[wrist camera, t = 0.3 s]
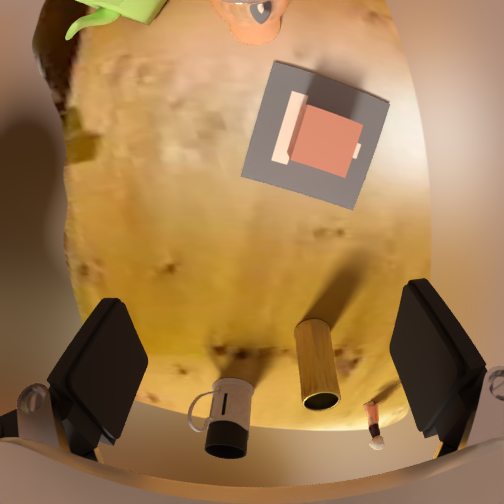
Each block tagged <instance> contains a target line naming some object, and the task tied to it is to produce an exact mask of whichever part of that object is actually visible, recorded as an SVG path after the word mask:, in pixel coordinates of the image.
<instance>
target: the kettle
mask: <svg viewBox="0 0 504 504" xmlns="http://www.w3.org/2000/svg"><path fill="white" fill-rule="evenodd" d="M77 1H79V2H82V3H84V4H87V5H89V6H91V7H94V8H96V9H98V10H97V11H96V12H95V13H93V14H92V15H88V16H84V17H81V18H79V19H78V20H77V21H75V22H74V23H73V24H72V26H71V27H70V28H69V30H68V32H67V34H66V40H69V39H70V38H71V37H72V36H73V35H74V34H75V33H76V32H77V31H79V30H80V29H82V28H84V27H87V26H95V25H104V24H108V23H111V22H113V21H114V20H116V19H117V18H119V17H120V16H122V17H125V18H128V19H131V20H134V21H137V22H140V23H143V24H146V25H150V24H151V22H152V21H153V19H154V18H155V16H156V15H157V14H158V13H159V12H160V11H161V8H162V7H163V5H164V4H165V3H166V1H167V0H77Z"/></svg>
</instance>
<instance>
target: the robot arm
mask: <svg viewBox="0 0 504 504" xmlns="http://www.w3.org/2000/svg"><path fill="white" fill-rule="evenodd" d="M390 354H391V357H392V360H393V362H394V365H395V367H396V370H397V372H398V375H399V378H400V380H401V383H402V386H403V388H404V391H405V394H406V396H407V399H408V402H409V405H410V408H411V411H412V414H413V416H414V419H415V423H416V426H417V428H418V430H419V431H420V432H421V431H423V434H424V437H425V438H428V437H431V436H434V435H437V434H438V436H439V440H440V443H439V445H438V447H437V450H436V452H435V454H434V456H433V458H432V460H429V461H426V462H423V463H420V464H417V465H413V466H410V467H406V468H402V469H398V470H395V471H391V472H387V473H383V474H378V475H374V476H369V477H365V478H359V479H353V480H348V481H341V482H335V483H326V484H318V485H306V486H292V487H262V488H261V487H257V488H256V487H229V486H215V485H204V484H196V483H188V482H181V481H174V480H168V479H163V478H157V477H153V476H148V475H143V474H139V473H135V472H131V471H126V470H123V469H119V468H115V467H112V466H109V465H105V464H104V461H103V459H102V456H101V454H100V451H99V448H98V446H97V445H98V442H99V441H100V442H102V443H106V444H109V445H114V443H115V441H116V439H118V438H119V437H120V436H121V433H122V430H123V427H124V425H125V422H126V420H127V417H128V414H129V412H130V409H131V406H132V404H133V401H134V399H135V396H136V393H137V391H138V388H139V386H140V383H141V381H142V378H143V376H144V373H145V371H146V368H147V366H148V357H147V354H146V352H145V350H144V348H143V346H142V344H141V341H140V339H139V337H138V335H137V332H136V330H135V328H134V325H133V323H132V320H131V318H130V316H129V313H128V311H127V308H126V306H125V304H124V303H123V302H121V300H120V299H118V298H103V299H102V300H101V301H100V302H99V304H98V305H97V306H96V308H95V309H94V310H93V312H92V313H91V315H90V316H89V317H88V319H87V320H86V321H85V323H84V324H83V326H82V327H81V329H80V330H79V331H78V333H77V334H76V336H75V337H74V339H73V340H72V342H71V343H70V344H69V346H68V347H67V349H66V350H65V352H64V353H63V355H62V356H61V358H60V359H59V361H58V362H57V364H56V366H55V367H54V369H53V370H52V372H51V373H50V375H49V377H48V378H47V381H48V382H49V384H50V385H51V386H50V387H49V389H48V388H47V387H46V385H44V384H42V383H34V384H31V385H29V386H27V387H26V388H25V389H24V390H23V391H22V392H21V394H20V395H19V397H18V399H17V409H15V410H13V411H11V412H9V413H7V414H4V415H3V416H0V504H504V367H503V366H496V367H493V368H491V369H489V371H487V369H486V368H485V365H486V363H485V361H484V360H483V358H482V357H481V355H480V353H479V352H478V350H477V348H476V347H475V345H474V344H473V342H472V341H471V339H470V338H469V336H468V335H467V333H466V332H465V330H464V329H463V328H462V326H461V324H460V323H459V322H458V320H457V319H456V317H455V316H454V315H453V313H452V312H451V310H450V309H449V308H448V306H447V305H446V304H445V302H444V301H443V299H442V298H441V297H440V296H439V294H438V293H437V292H436V290H435V289H434V288H433V286H432V285H431V284H430V283H429V281H428V280H427V279H425V278H423V279H415V280H410V281H409V282H408V284H407V285H405V286H404V287H403V291H402V296H401V301H400V306H399V310H398V314H397V319H396V323H395V327H394V331H393V335H392V338H391V342H390Z"/></svg>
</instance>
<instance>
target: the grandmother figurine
mask: <svg viewBox="0 0 504 504" xmlns="http://www.w3.org/2000/svg"><path fill="white" fill-rule="evenodd" d="M363 406H364V408H365V411H366V412H367V416H368V425H369V431H370V433H371V436H372V438H373V439H372V441H371V442H370V443H369V445H370V447H372V448H373V449H376V450H380V449H382V448H383V447H384V442H383V437H382V436H380V430H379V425H378V420H379V417H378V405H377V404H376V405H374V401H370V402H368V403H366V404H364V405H363Z"/></svg>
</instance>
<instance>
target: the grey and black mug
mask: <svg viewBox="0 0 504 504" xmlns="http://www.w3.org/2000/svg"><path fill="white" fill-rule="evenodd" d="M212 389H213V391H212V392H208V393H204V394H201V395H199V396H198V397H196V398H195V400H194V401H193V402H192V404H191V406H190V408H189V411H188V423H189V425H190V427H191V428H192V429H193V430H195V431H197V432H201V431H204V430H205V429H206V428H207V427H208V432H207V438H206V444H205V451H206V452H207V453H208V454H210V455H213V456H216V457H219V458H225V459H238V458H242V457H244V456H245V455H246V453H247V452H246V451H247V442H248V437H249V426H250V412H251V398H252V396H253V394H254V388H253V386H252V385H251V384H250V383H248V382H246V381H244V380H241V379H238V378H222V379H219V380H217V381H216V382H214V384H213V386H212ZM208 394H213V398H212V404H211V409H210V415H209V417H208V418H206V421H205V425H204V427H203V428H202V429H201V430H199V429H197V428H196V427H195V426H194V425H193V423H192V421H191V413H192V410H193V407H194V405H195V403H196V402H197V400H198V399H199V398H201V397H202V396H204V395H208Z"/></svg>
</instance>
